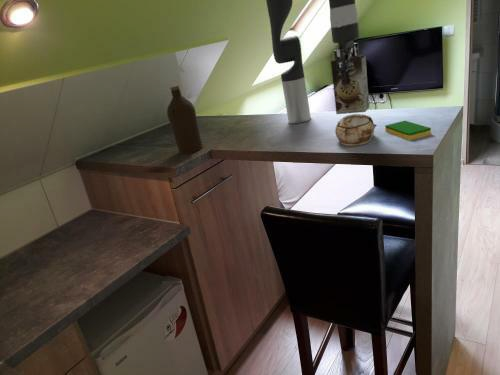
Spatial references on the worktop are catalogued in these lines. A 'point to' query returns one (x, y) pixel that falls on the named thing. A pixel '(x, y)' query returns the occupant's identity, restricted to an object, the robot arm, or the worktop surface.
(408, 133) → the dish sponge
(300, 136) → the worktop surface
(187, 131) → the olive oil
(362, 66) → the coffee box
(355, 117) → the trinket box
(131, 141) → the worktop surface
